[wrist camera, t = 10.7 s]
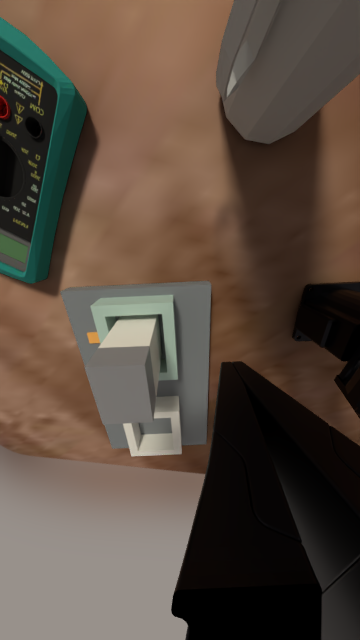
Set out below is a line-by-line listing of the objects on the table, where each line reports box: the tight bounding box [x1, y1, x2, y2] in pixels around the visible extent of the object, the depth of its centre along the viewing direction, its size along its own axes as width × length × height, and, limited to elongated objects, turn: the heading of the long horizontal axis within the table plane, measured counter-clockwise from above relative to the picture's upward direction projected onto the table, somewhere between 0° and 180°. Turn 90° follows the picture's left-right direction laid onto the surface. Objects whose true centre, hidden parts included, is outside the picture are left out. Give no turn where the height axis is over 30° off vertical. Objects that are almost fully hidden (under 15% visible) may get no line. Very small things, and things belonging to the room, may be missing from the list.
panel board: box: [61, 281, 211, 449], centre depth 22 cm, size 14×24×2 cm, turn 3°
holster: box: [123, 396, 182, 456], centre depth 23 cm, size 7×8×2 cm
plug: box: [85, 314, 162, 424], centre depth 15 cm, size 4×5×8 cm
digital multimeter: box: [0, 17, 87, 284], centre depth 13 cm, size 7×15×3 cm, turn 152°
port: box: [90, 295, 178, 381], centre depth 18 cm, size 7×8×2 cm
